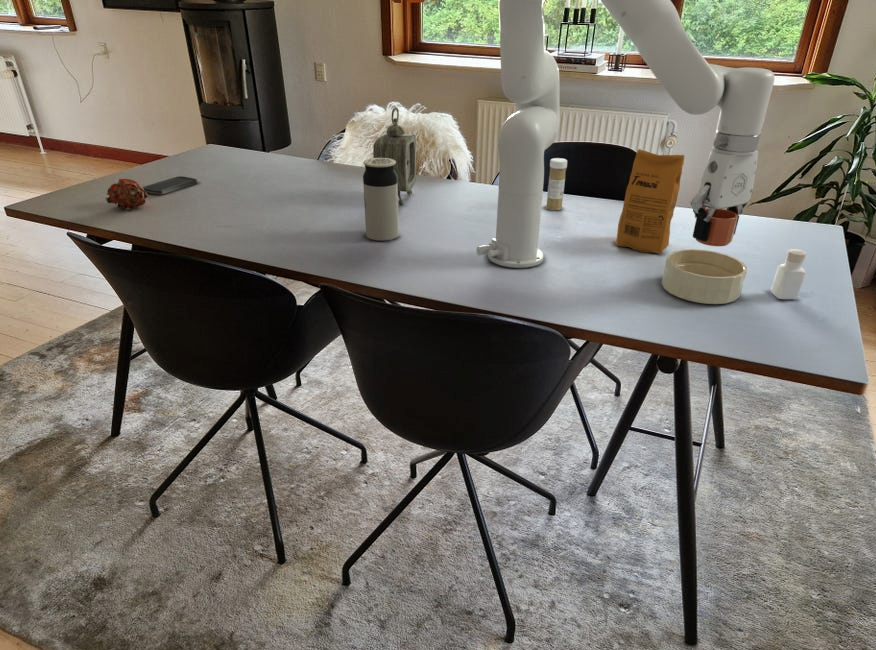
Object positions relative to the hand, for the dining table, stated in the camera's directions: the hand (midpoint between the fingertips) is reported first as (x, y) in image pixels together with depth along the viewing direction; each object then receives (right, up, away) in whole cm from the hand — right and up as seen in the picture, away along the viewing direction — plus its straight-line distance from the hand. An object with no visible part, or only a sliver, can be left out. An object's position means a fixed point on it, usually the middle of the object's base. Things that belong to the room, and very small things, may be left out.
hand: (713, 235), depth 123 cm
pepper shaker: (+16, -12, +4) cm, 20 cm away
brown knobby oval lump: (-139, +17, +46) cm, 147 cm away
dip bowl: (0, -1, +1) cm, 1 cm away
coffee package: (-6, +3, +28) cm, 29 cm away
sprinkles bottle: (-23, +18, +52) cm, 60 cm away
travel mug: (-68, +6, +31) cm, 75 cm away
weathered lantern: (-67, +21, +57) cm, 91 cm away
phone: (-135, +27, +64) cm, 152 cm away
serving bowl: (0, -10, +6) cm, 12 cm away
